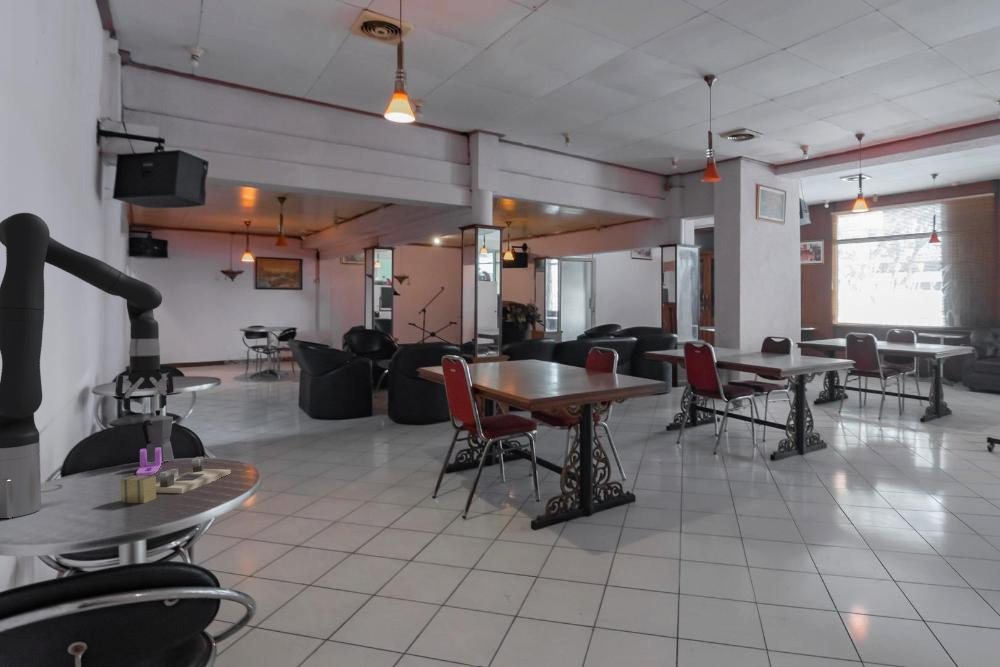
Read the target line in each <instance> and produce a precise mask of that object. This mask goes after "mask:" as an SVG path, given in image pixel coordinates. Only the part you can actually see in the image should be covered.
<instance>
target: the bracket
mask: <svg viewBox="0 0 1000 667" xmlns="http://www.w3.org/2000/svg"><path fill="white" fill-rule="evenodd" d="M161 463H162V457H161V447H158V448H155V464H147V451H146V448H140V450H139V468H138V469H137V471H136V475H135V476H137V475H140V476H147V475H152V474H154V473H156V472H157V471H158V470H159V468H160V466H161ZM148 469H151V470H150V471H145V470H148ZM160 469H161V468H160ZM159 471H160V470H159ZM152 476H153V475H152Z"/></svg>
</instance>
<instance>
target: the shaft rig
mask: <svg viewBox="0 0 1000 667" xmlns="http://www.w3.org/2000/svg"><path fill="white" fill-rule="evenodd" d="M204 464H205V461H204V456H195V457H194V458H192V459H191V467H192V470H189V471H186V472H184V473H180V474H179V469H178V468H171V469H168V470H164V471H162V472H161V471H160V472H159V481H156V494H159V493H160V494H161V493H162V494H163V493H164V494H185V493H186V492H190V491H192V490H194V489H197V488H199V487H202V486H205V485H207V484H211V483H213V482H215V481H217V479H218V480H220V479H222V478H221V477H223V476H226V475H228V474H230V473H232V472H231V471H232V470H231V469H220V468H219V469H218V468H205V465H204ZM228 476H229V475H228ZM226 477H227V476H226ZM219 478H220V479H219ZM223 478H224V477H223ZM212 481H213V482H212Z"/></svg>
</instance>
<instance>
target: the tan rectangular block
mask: <svg viewBox="0 0 1000 667" xmlns="http://www.w3.org/2000/svg"><path fill="white" fill-rule="evenodd" d="M156 483H157V476H156V475H152V476H140V475H131V476H127V477H125V478H122V479H120V497H121V498H120V500H121V503H124V504H125V503H130V504H133V503H134V504H146V503H148V502H150V501H154V500H156V499H157V492H156Z"/></svg>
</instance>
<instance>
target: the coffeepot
mask: <svg viewBox="0 0 1000 667" xmlns="http://www.w3.org/2000/svg"><path fill="white" fill-rule="evenodd" d="M154 411H155V415H154V416H150V417H147V418H144V419H142V426H141V428H142V429H141V430H142V433H143V436H144V440H145V443H146V448H145V449H146V451H147V462H154V461H155V448H158V447H161V457H162V461H164V460H173V461H174V459H175V456H174V453H173V447H172V443H171V440H170V439H171V438H170V437H171V435H172V428H173V421H174V416H169V415H162V414H161V410H160V409H157V410H154Z"/></svg>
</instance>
